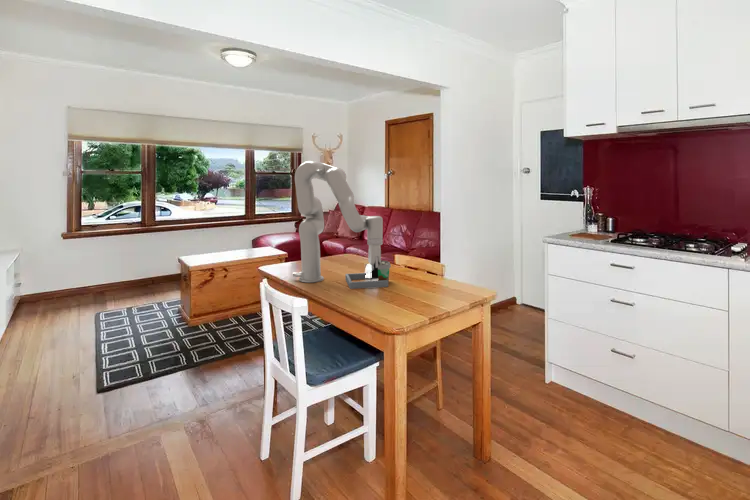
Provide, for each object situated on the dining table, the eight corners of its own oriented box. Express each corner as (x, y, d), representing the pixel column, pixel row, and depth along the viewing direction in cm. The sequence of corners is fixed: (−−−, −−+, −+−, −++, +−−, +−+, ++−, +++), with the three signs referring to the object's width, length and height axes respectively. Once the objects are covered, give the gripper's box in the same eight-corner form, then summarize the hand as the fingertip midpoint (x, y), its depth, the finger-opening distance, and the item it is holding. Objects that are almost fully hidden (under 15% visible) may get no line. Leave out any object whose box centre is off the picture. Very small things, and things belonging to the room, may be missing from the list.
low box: (349, 288, 199) (349, 282, 198) (345, 279, 217) (345, 273, 216) (388, 286, 202) (388, 280, 202) (380, 277, 220) (380, 272, 219)
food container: (390, 285, 204) (390, 265, 203) (378, 285, 205) (377, 265, 203) (391, 279, 216) (391, 260, 215) (379, 279, 217) (379, 260, 215)
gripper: (365, 239, 213) (365, 274, 216) (370, 243, 199) (370, 281, 202) (379, 238, 214) (379, 273, 218) (385, 243, 200) (385, 280, 203)
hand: (375, 277), depth 210 cm, fingers closed
